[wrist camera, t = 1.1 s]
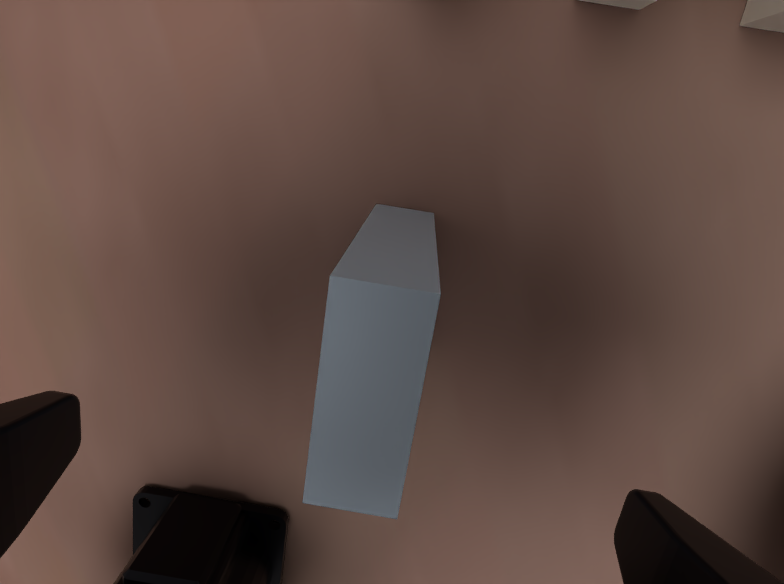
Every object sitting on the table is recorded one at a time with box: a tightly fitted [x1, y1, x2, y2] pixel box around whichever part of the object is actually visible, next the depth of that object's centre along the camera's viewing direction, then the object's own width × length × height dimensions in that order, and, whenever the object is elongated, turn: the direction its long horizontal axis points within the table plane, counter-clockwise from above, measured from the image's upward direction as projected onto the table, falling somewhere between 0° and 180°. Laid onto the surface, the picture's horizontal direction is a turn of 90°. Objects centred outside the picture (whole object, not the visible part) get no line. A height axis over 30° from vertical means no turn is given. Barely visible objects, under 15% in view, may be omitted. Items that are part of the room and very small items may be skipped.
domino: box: [303, 204, 441, 519], centre depth 14 cm, size 5×2×9 cm, turn 171°
